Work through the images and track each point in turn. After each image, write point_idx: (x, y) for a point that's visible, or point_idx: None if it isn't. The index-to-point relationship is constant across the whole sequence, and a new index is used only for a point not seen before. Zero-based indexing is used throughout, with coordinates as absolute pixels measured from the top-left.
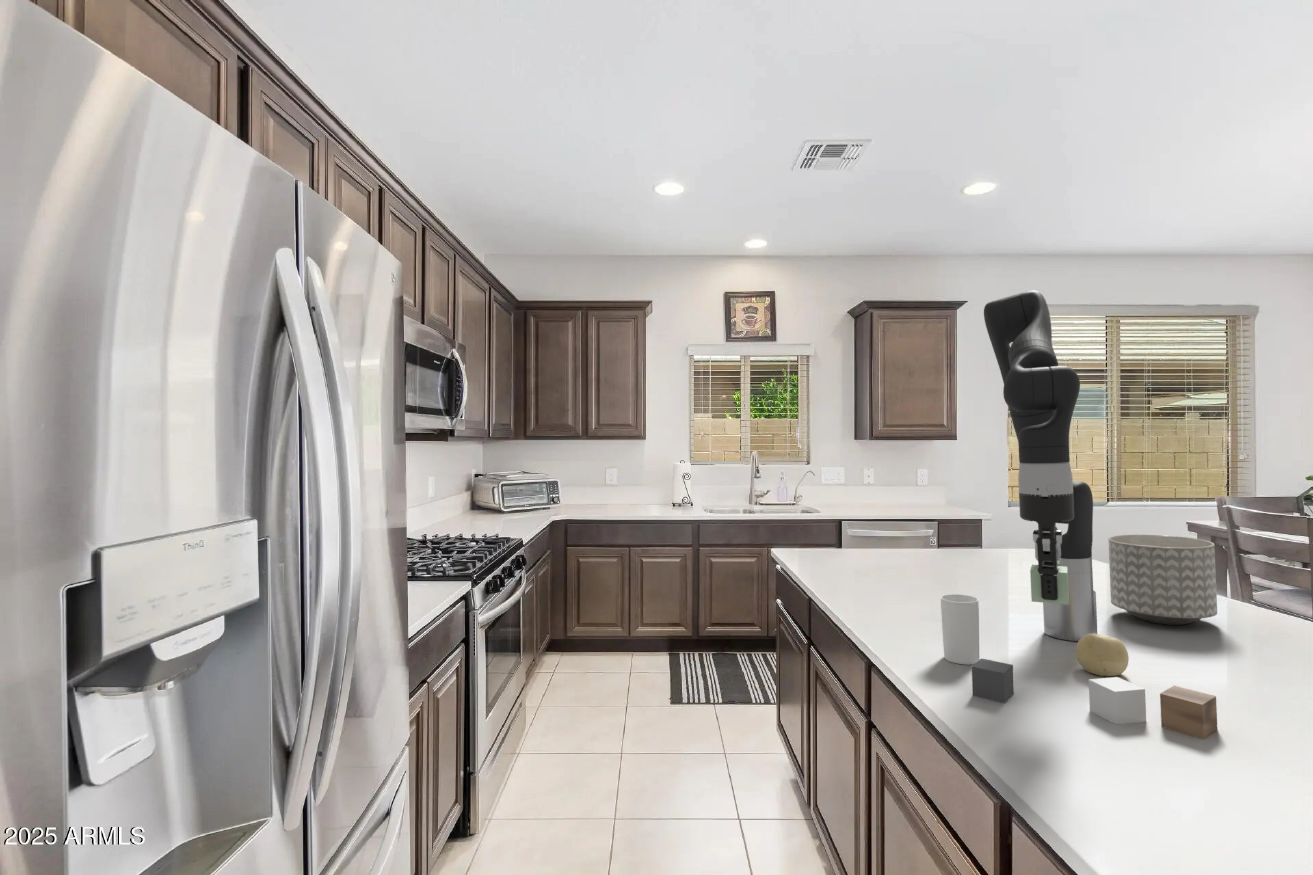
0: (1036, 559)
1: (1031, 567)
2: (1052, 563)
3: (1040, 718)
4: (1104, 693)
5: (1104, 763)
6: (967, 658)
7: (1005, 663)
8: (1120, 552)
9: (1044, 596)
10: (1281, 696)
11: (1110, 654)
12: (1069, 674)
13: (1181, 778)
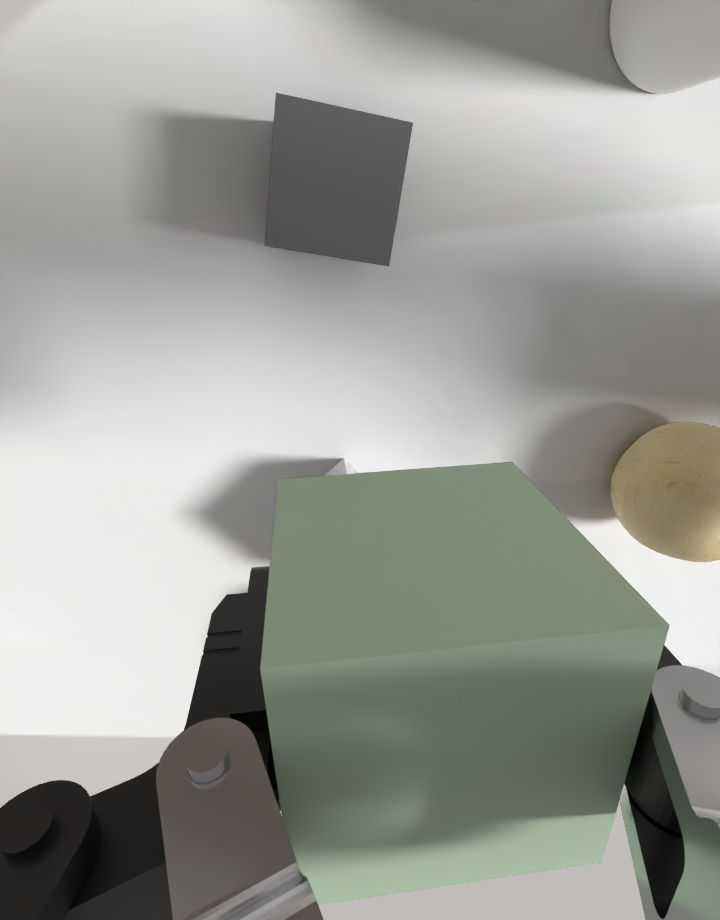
0: (241, 914)
1: (472, 648)
2: (647, 803)
3: (206, 354)
4: None
5: (19, 503)
6: (625, 40)
7: (392, 236)
8: None
9: (227, 595)
10: None
11: (639, 525)
12: (610, 395)
13: (62, 615)
